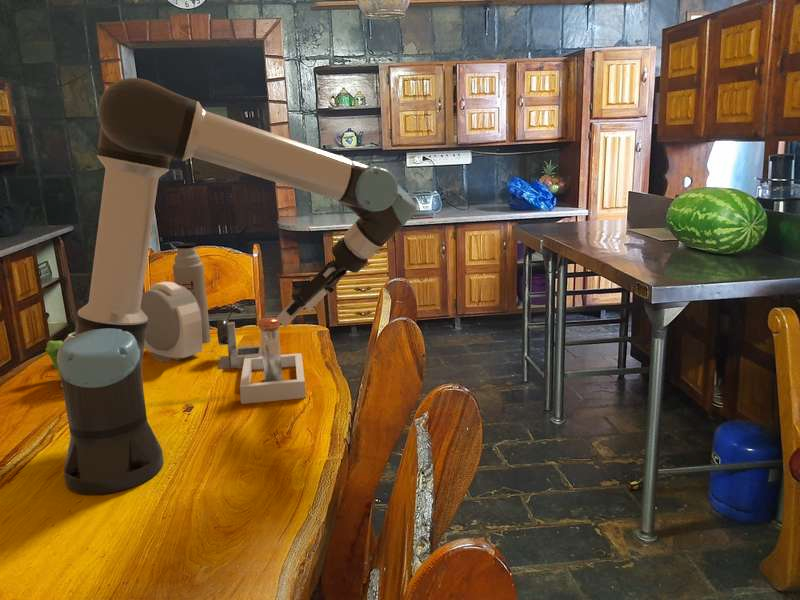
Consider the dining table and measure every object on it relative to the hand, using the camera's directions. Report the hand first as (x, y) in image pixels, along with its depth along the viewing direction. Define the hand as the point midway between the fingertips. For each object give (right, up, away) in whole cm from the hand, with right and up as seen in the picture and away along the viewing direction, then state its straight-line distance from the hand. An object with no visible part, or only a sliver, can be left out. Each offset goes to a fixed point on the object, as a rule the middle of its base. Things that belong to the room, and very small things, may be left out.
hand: (293, 314), depth 137 cm
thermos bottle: (-34, -9, +39) cm, 53 cm away
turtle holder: (-51, -16, +10) cm, 55 cm away
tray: (-5, -16, +5) cm, 18 cm away
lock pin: (-5, -15, +5) cm, 17 cm away
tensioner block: (-15, -13, +19) cm, 27 cm away
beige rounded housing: (-36, -12, +25) cm, 45 cm away
